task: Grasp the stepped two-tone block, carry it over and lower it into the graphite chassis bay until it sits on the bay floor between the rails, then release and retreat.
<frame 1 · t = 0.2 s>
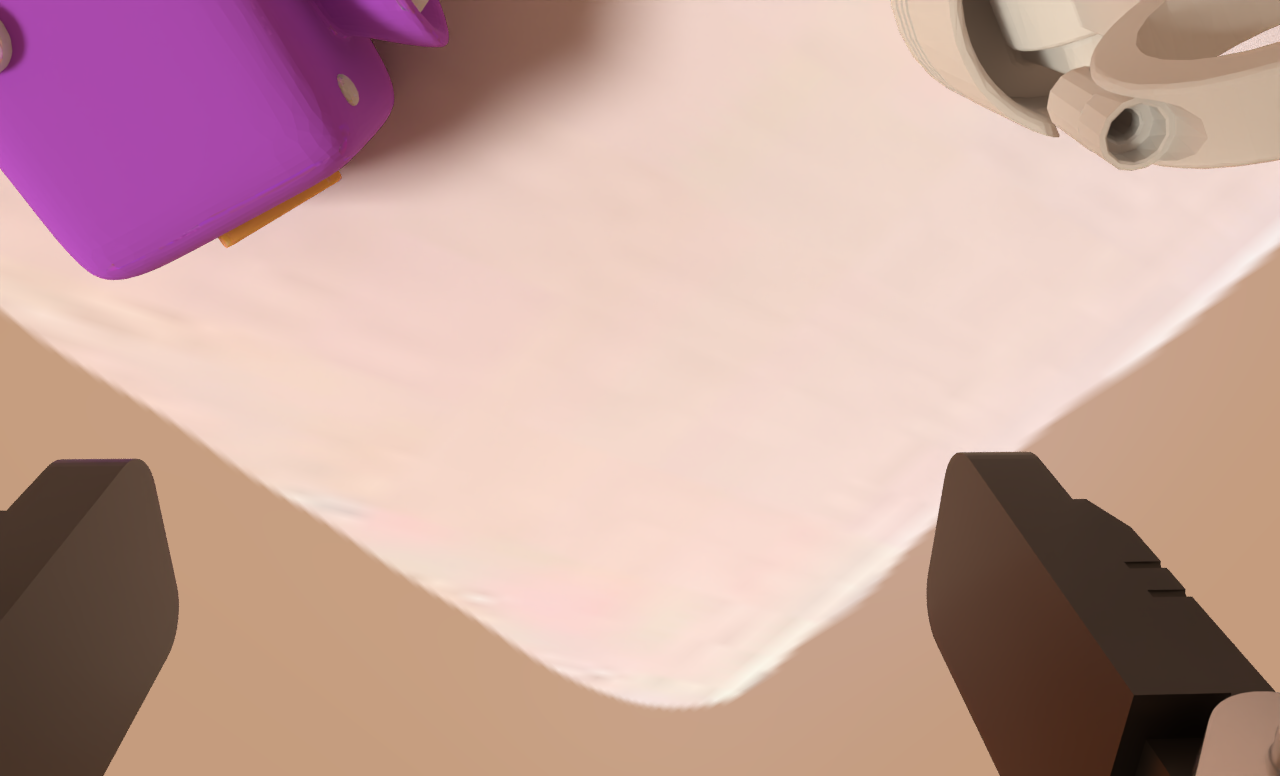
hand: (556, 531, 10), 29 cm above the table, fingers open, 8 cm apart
toy camera: (266, 15, 35), on the table
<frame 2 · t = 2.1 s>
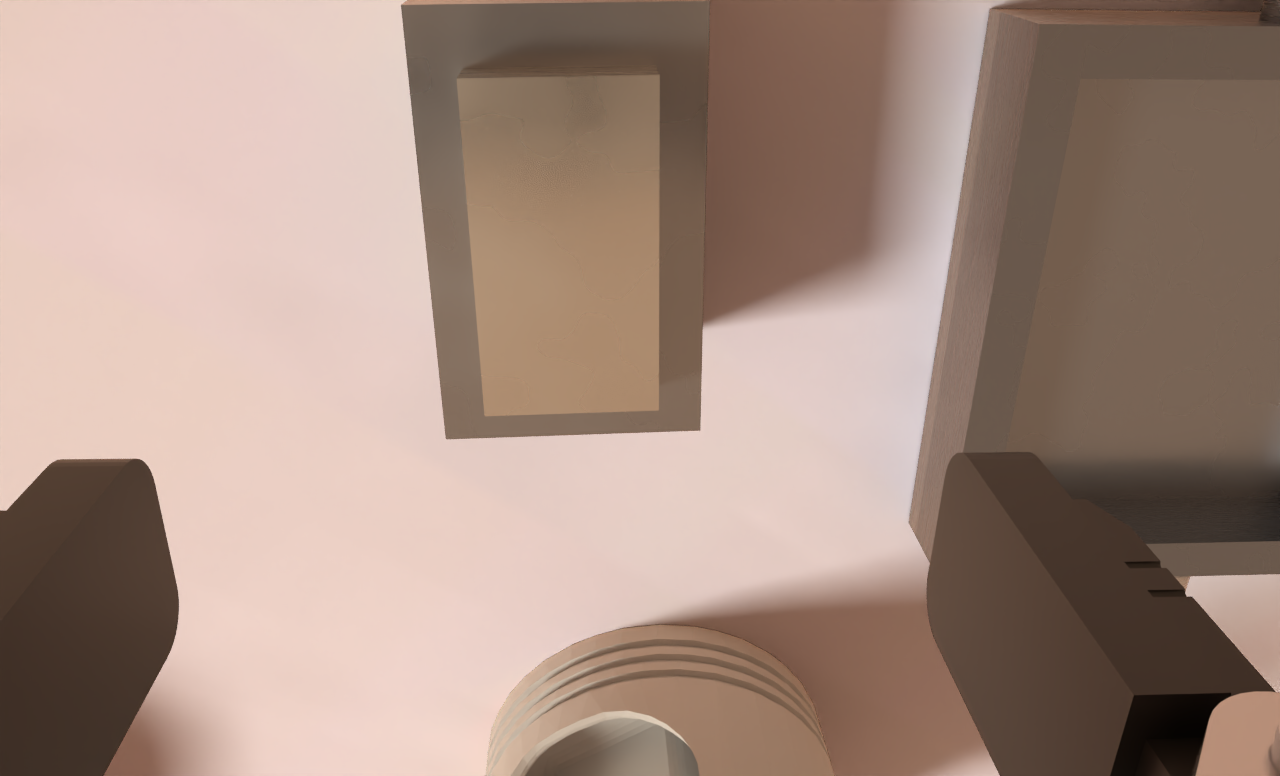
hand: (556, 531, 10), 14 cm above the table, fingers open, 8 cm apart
chassis bay: (1185, 294, 25), on the table
engine component: (642, 757, 31), on the table
stepped two-tone block: (567, 169, 23), on the table
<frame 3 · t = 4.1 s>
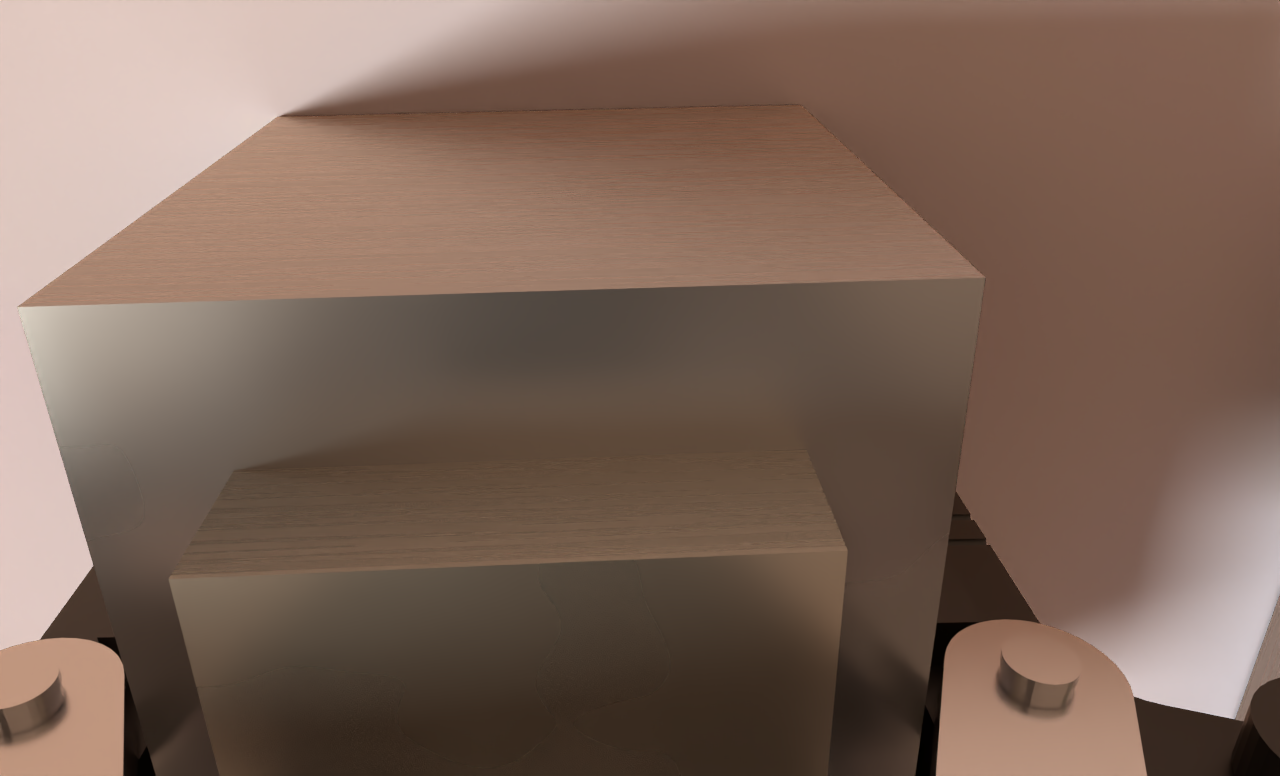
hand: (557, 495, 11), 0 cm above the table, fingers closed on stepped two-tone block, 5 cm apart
stepped two-tone block: (561, 471, 12), on the table, touching gripper
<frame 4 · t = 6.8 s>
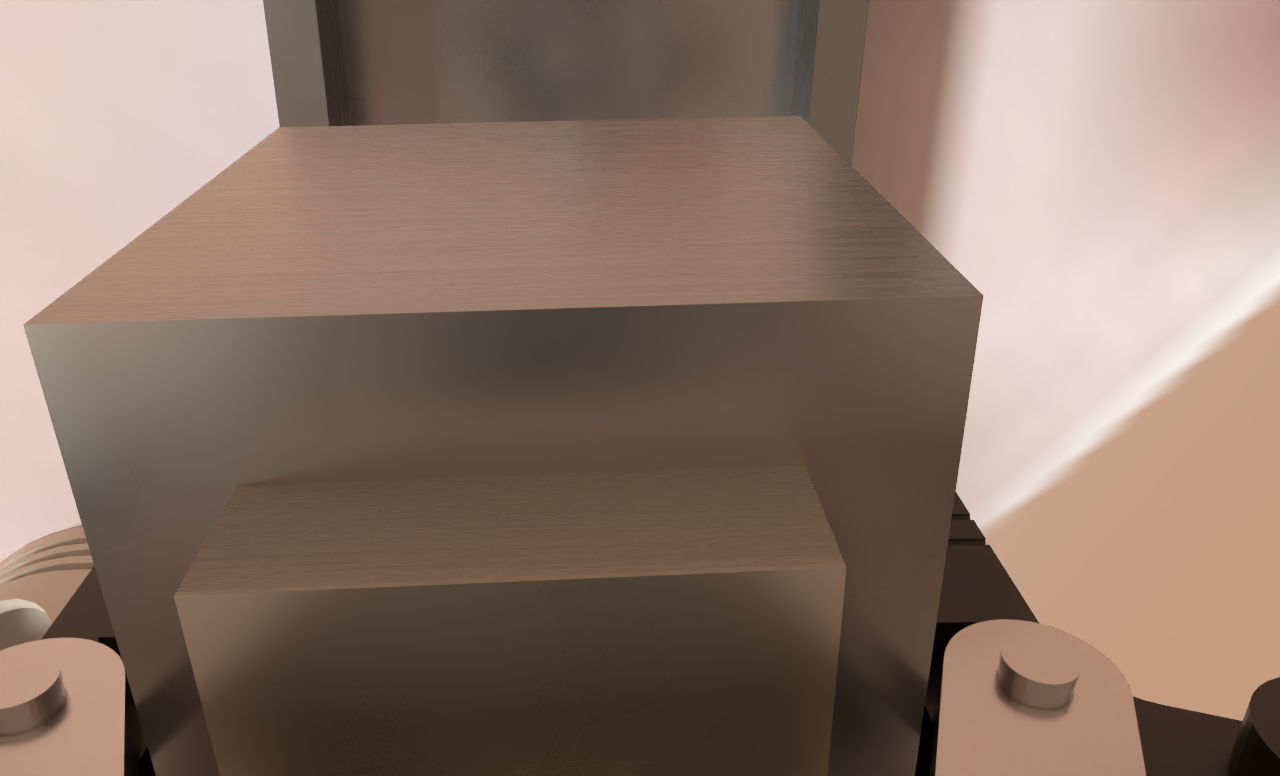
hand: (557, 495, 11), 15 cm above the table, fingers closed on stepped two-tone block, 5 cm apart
chassis bay: (573, 170, 24), on the table
engine component: (139, 668, 30), on the table
stepped two-tone block: (561, 479, 12), point 14 cm above the table, touching gripper
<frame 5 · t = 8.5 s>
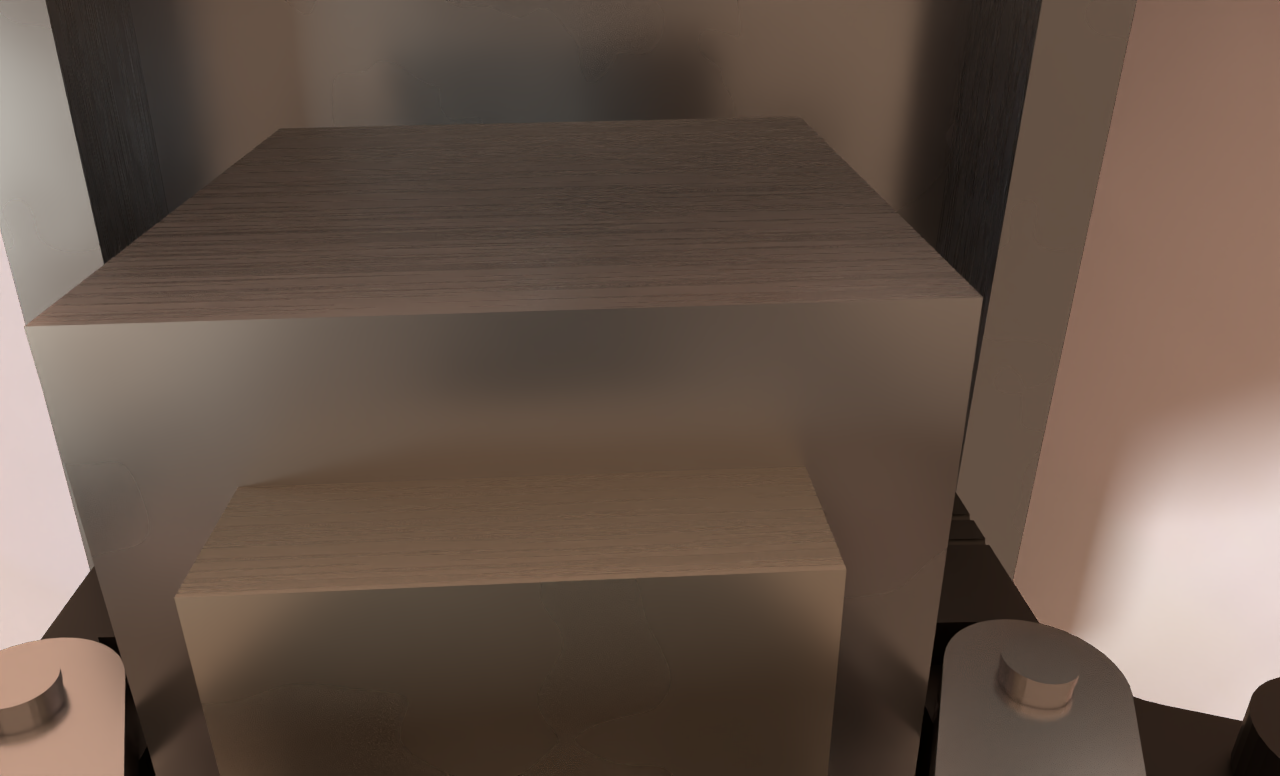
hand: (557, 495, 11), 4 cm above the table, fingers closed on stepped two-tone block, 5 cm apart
chassis bay: (566, 337, 15), on the table
stepped two-tone block: (561, 480, 12), point 4 cm above the table, touching gripper
when the fingers open (2 cm above the table, at t = 9.8 s): stepped two-tone block drops 1 cm, resting on chassis bay.
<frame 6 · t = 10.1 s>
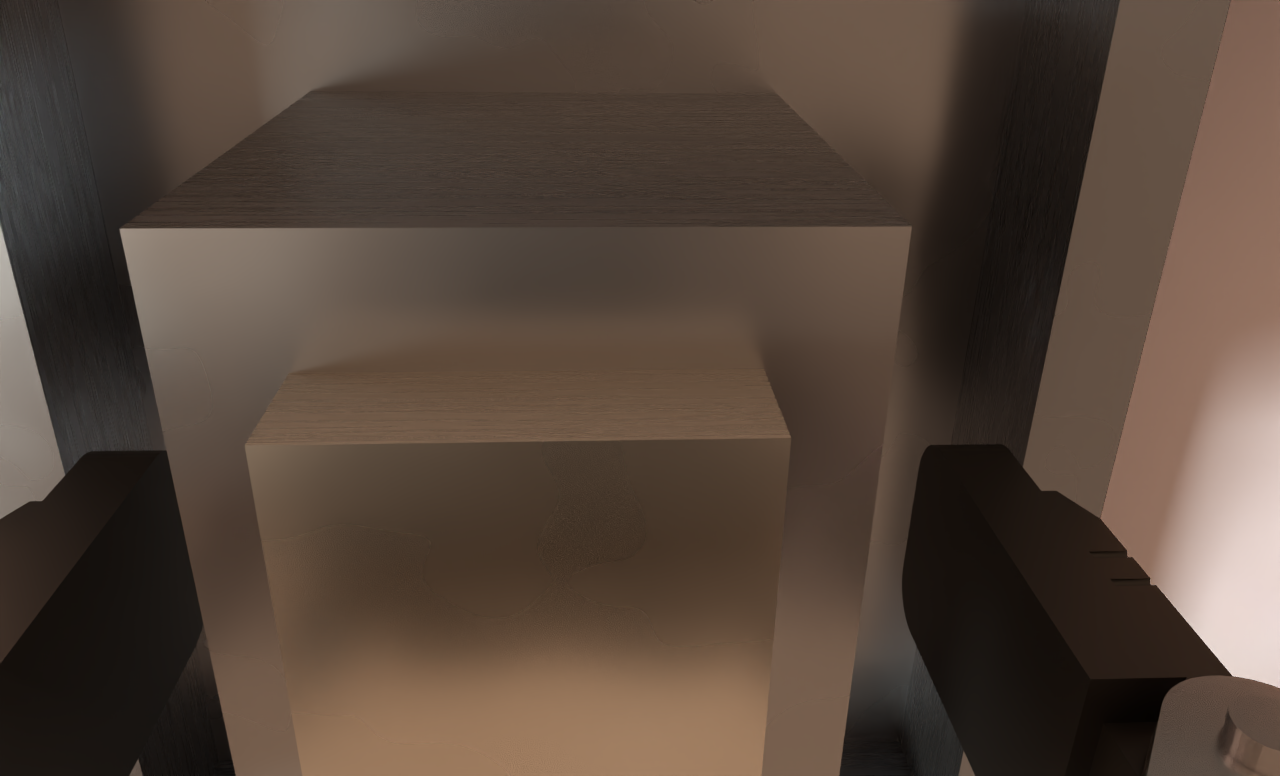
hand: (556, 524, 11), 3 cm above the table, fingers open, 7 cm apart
chassis bay: (561, 398, 13), on the table
stepped two-tone block: (554, 422, 13), point 1 cm above the table, touching chassis bay
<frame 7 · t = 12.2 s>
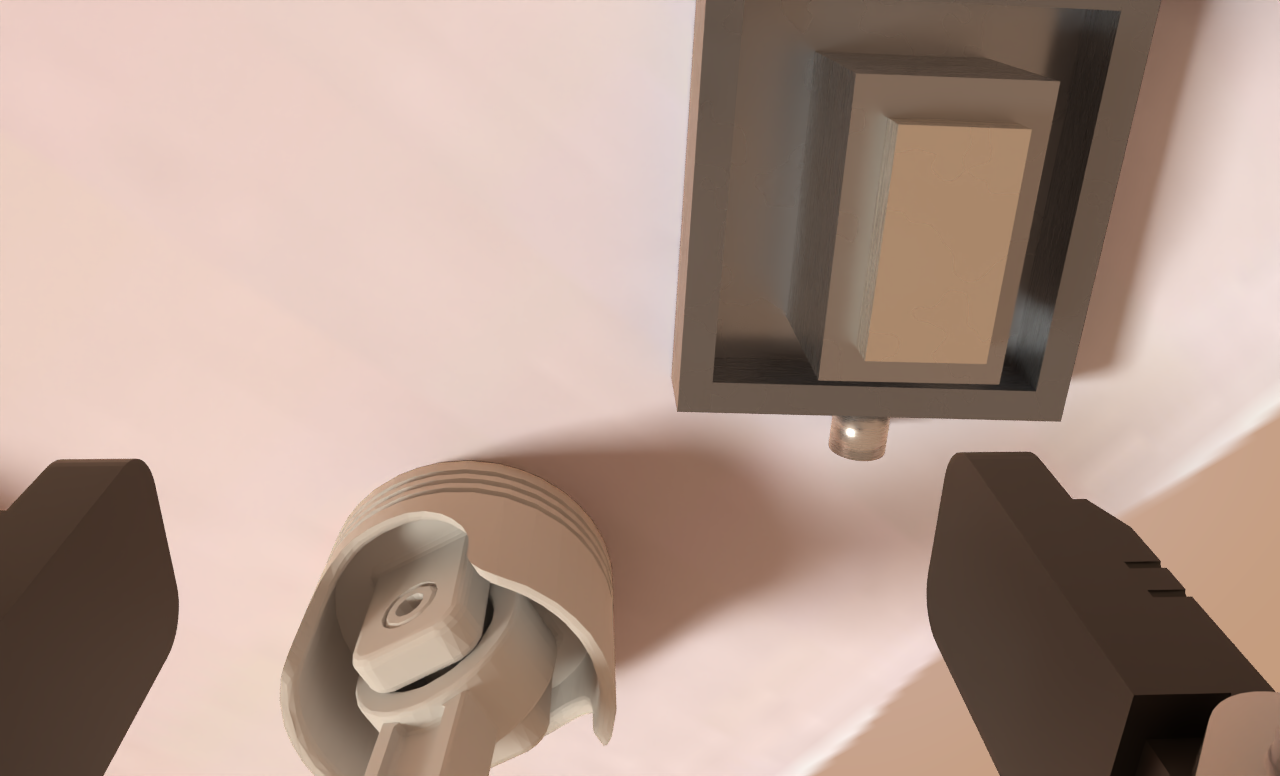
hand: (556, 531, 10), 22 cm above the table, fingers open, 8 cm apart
chassis bay: (879, 188, 31), on the table
engine component: (463, 586, 37), on the table
stepped two-tone block: (882, 193, 31), point 1 cm above the table, touching chassis bay
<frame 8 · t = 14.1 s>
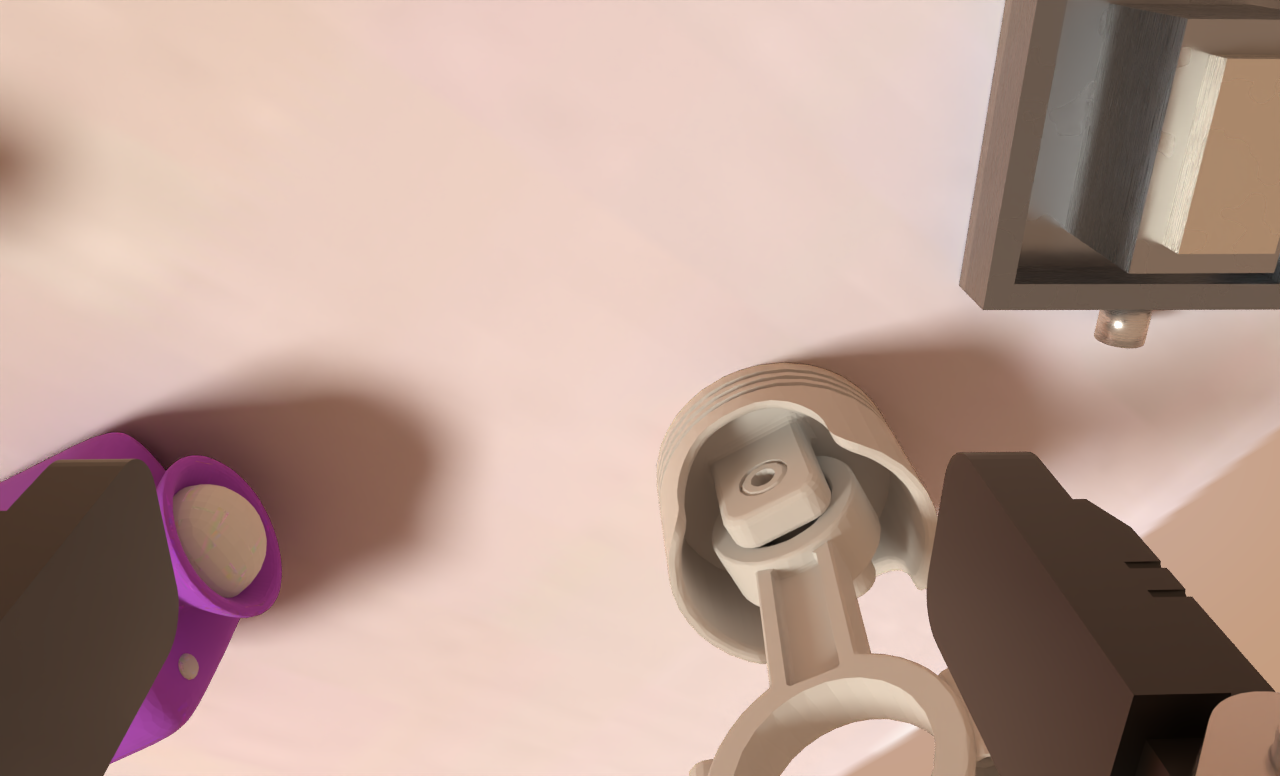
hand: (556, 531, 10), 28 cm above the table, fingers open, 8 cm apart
chassis bay: (1147, 117, 37), on the table
toy camera: (144, 520, 43), on the table
engine component: (764, 473, 43), on the table
stepped two-tone block: (1153, 122, 37), point 1 cm above the table, touching chassis bay
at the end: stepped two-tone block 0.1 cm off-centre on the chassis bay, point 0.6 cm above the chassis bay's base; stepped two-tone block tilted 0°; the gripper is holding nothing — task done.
